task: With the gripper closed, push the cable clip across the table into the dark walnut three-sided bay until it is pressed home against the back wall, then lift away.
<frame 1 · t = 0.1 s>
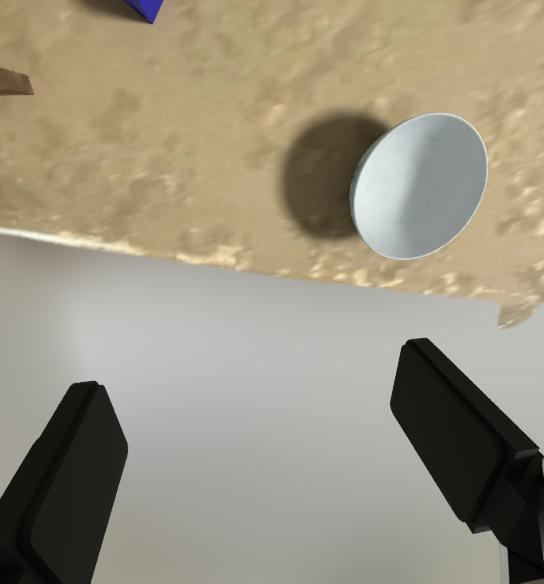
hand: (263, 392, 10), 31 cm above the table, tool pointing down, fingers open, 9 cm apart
chinaware: (385, 183, 39), on the table
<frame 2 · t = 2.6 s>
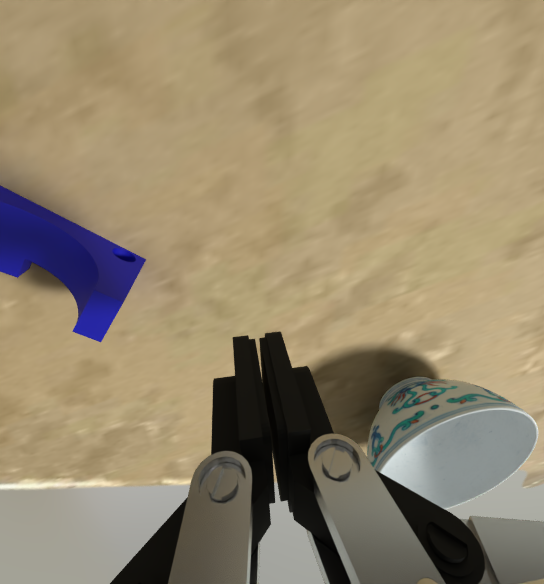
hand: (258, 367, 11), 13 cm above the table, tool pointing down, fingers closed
cable clip: (42, 239, 20), on the table
chinaware: (406, 397, 33), on the table
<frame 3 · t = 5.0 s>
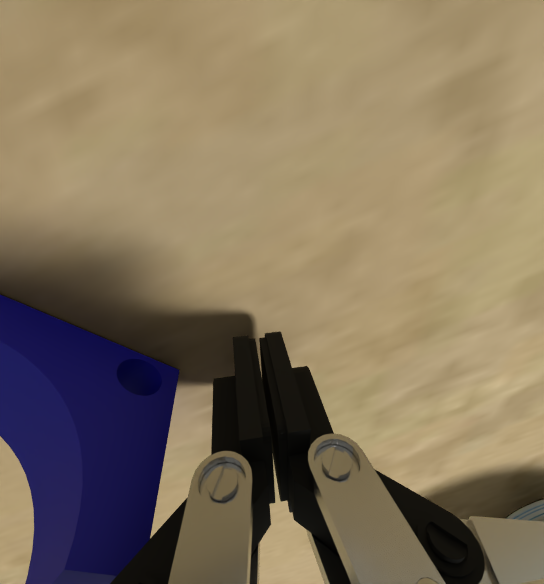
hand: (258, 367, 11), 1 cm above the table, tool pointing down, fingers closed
chinaware: (530, 518, 24), on the table
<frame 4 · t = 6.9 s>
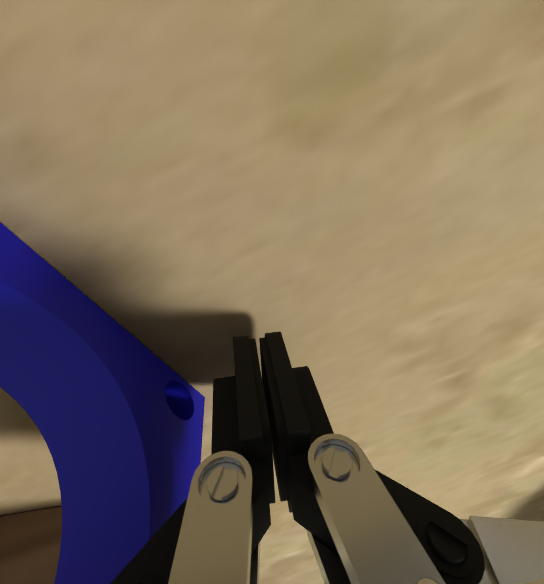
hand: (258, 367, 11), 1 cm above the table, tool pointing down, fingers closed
cable clip: (32, 325, 10), on the table, touching gripper
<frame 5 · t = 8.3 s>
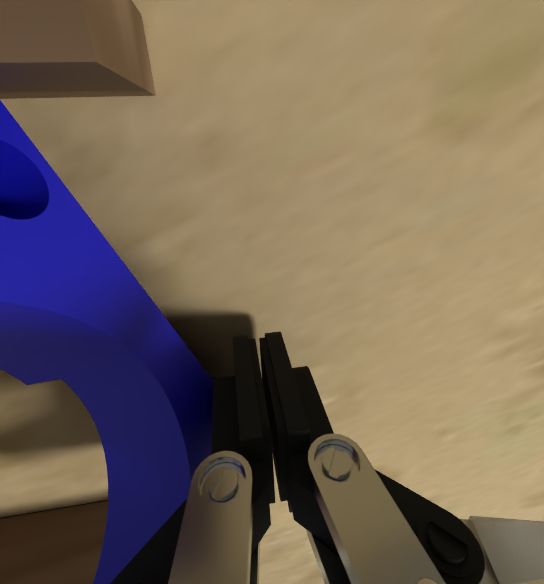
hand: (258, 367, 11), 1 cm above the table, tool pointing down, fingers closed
cable clip: (114, 331, 10), point 1 cm above the table, touching dock bay, gripper
dock bay: (25, 374, 10), on the table
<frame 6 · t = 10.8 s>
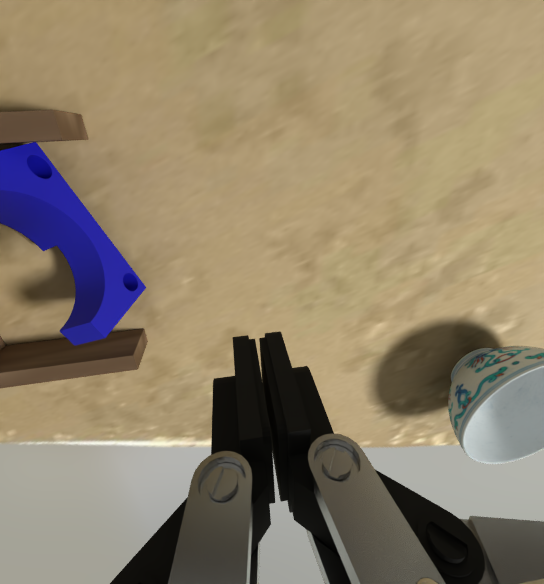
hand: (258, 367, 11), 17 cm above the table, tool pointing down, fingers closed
cable clip: (78, 232, 23), point 1 cm above the table, touching dock bay
chinaware: (474, 367, 39), on the table
dock bay: (42, 255, 24), on the table
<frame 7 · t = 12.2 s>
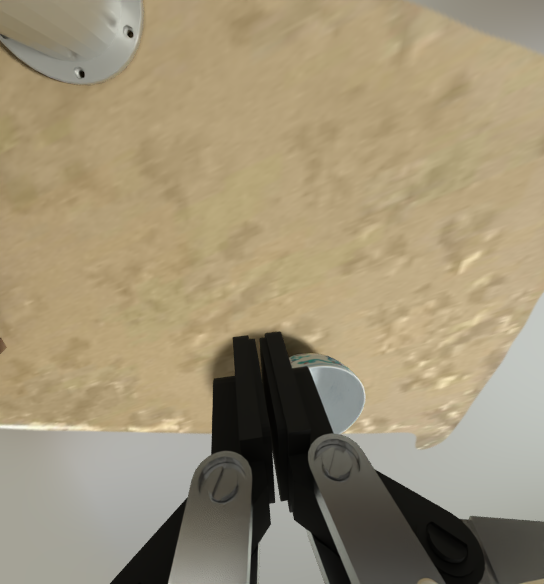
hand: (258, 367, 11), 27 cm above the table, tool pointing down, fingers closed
chinaware: (299, 369, 48), on the table
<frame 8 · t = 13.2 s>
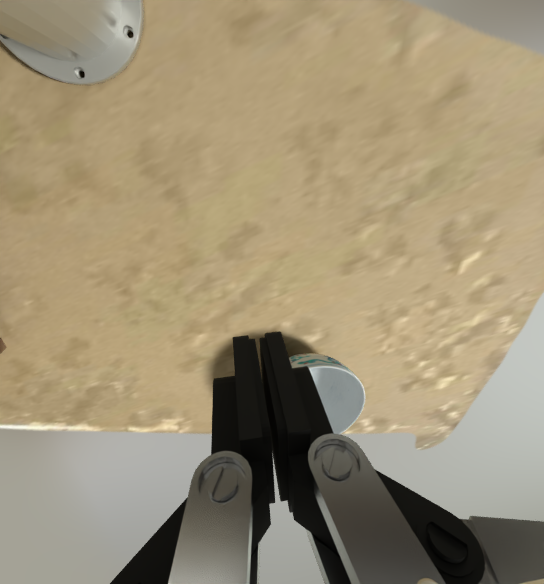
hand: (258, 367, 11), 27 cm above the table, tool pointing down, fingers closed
chinaware: (298, 369, 48), on the table
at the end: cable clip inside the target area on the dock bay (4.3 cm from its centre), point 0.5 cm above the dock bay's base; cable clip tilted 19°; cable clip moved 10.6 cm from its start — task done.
